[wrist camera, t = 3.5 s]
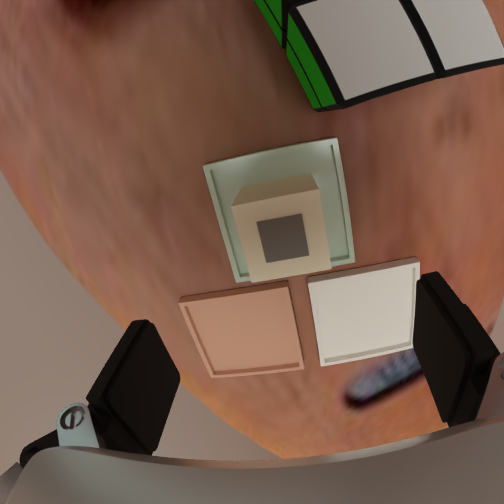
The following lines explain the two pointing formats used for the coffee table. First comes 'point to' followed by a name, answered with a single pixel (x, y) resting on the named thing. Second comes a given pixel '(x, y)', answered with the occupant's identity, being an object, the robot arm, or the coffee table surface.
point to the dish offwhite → (364, 310)
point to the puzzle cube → (379, 44)
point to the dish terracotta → (245, 330)
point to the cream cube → (282, 228)
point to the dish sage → (277, 167)
